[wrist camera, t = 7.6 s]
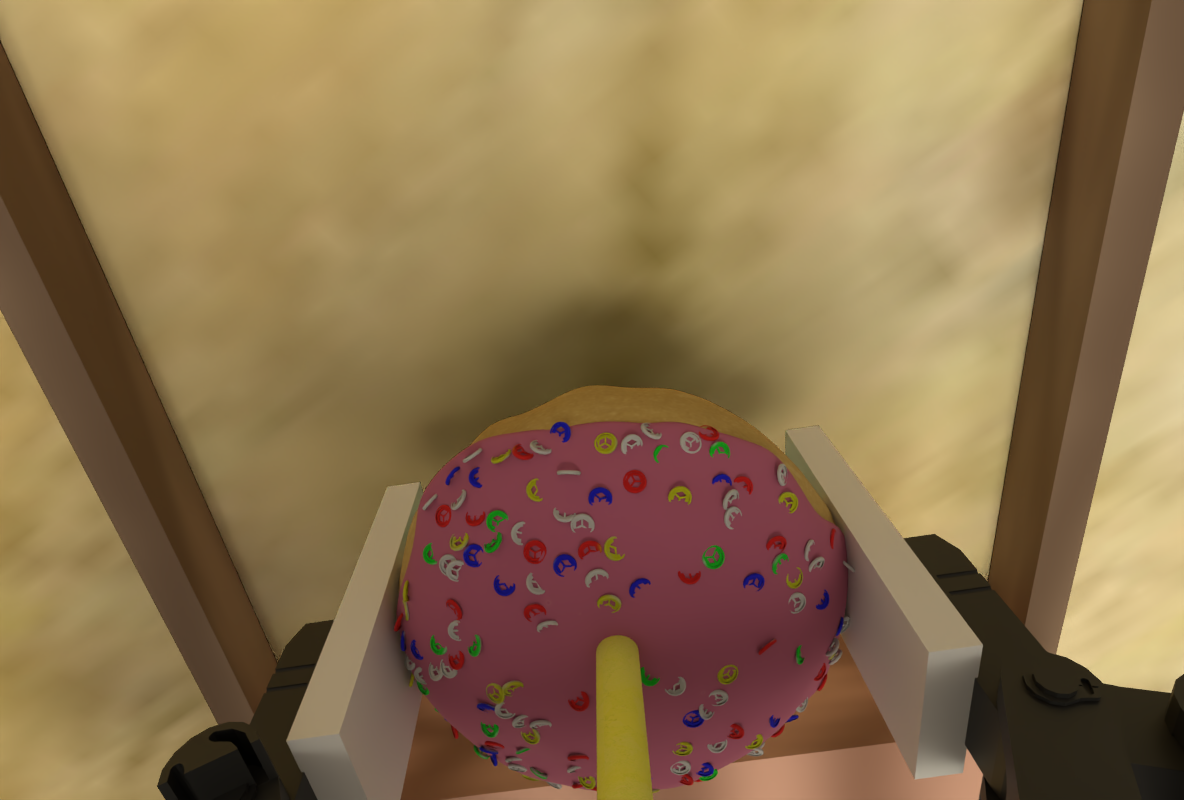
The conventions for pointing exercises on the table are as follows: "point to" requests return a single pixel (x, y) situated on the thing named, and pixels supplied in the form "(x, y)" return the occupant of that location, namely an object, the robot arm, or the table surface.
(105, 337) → the brown wooden open frame
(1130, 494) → the table surface
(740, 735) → the cupcake
